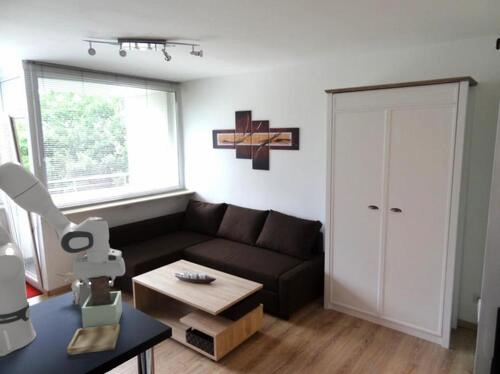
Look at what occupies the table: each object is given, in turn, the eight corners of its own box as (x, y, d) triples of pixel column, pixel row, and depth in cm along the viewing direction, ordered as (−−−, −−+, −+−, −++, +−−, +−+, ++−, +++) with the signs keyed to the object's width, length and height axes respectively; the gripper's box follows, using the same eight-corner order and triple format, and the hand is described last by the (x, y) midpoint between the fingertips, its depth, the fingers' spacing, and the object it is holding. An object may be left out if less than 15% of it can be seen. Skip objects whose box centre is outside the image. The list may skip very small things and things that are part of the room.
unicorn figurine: (72, 293, 170) (69, 268, 168) (97, 302, 160) (94, 276, 158) (58, 299, 164) (55, 273, 162) (83, 309, 154) (80, 282, 152)
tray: (67, 355, 122) (67, 348, 122) (78, 334, 135) (77, 328, 134) (114, 349, 125) (113, 343, 125) (120, 329, 138) (119, 324, 137)
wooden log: (104, 324, 140) (101, 278, 137) (89, 322, 141) (85, 277, 138) (115, 314, 147) (112, 271, 144) (100, 313, 148) (97, 270, 145)
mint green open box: (83, 331, 137) (81, 308, 135) (91, 314, 149) (89, 293, 148) (117, 327, 139) (115, 305, 138) (122, 311, 152) (120, 291, 151)
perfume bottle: (93, 314, 150) (90, 276, 147) (81, 312, 152) (78, 274, 149) (104, 307, 156) (101, 270, 153) (92, 305, 158) (89, 268, 155)
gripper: (69, 259, 135) (71, 291, 137) (122, 256, 139) (124, 287, 141) (73, 254, 141) (76, 285, 143) (125, 251, 145) (126, 281, 147)
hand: (100, 286), depth 142 cm, fingers closed on wooden log, 7 cm apart
